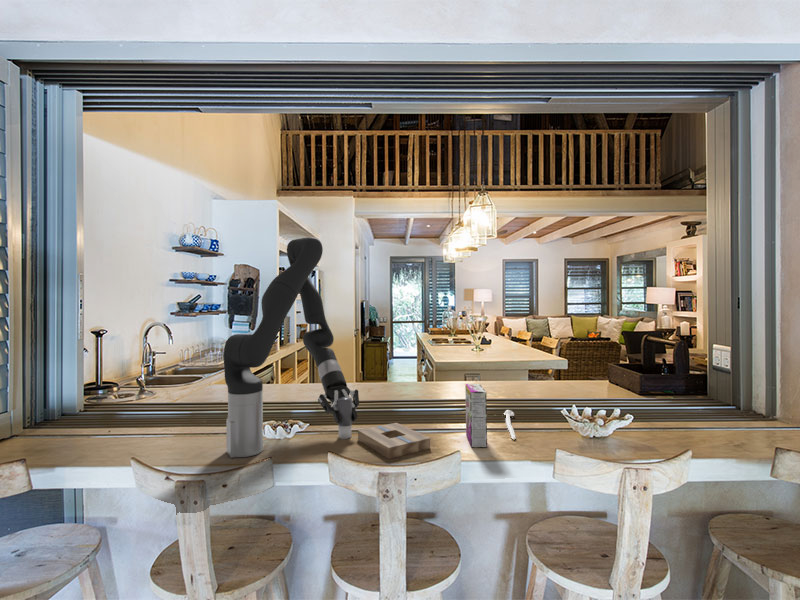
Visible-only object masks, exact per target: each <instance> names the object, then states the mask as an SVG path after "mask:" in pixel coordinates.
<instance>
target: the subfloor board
mask: <svg viewBox="0 0 800 600" xmlns="http://www.w3.org/2000/svg"><path fill="white" fill-rule="evenodd" d="M357 441H359V442H361V443H362V444H364V445H365V446H366V447H369V448H370V449H372V450H373V451H375V452H376V453H378V454H380V455H382V456H383V457H385V458H387V459H388V460H390V459H394V458H399V457H402V456H406V455H410V454H414V453H418V452H422V451H425V450H429V449H431V437H429V436H426V435H424V434H422V433H420V432H418V431H416V430H414V429H412V428H409V427H407V426H405V425H402V424H401V423H398V422H393V423H392V422H391V423H388V424H382V425H377V426H372V427H368V428H363V429H358V430H357Z"/></svg>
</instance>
